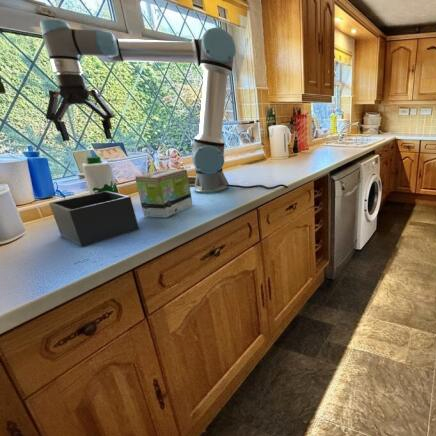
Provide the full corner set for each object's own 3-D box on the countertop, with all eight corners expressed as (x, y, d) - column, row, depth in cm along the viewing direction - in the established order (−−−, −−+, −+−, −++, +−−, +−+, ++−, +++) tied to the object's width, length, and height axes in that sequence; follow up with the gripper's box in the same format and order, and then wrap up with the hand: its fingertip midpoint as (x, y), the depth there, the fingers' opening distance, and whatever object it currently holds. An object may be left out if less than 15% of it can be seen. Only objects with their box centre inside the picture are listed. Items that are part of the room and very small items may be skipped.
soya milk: (120, 204, 124) (106, 155, 117) (124, 209, 118) (109, 157, 111) (94, 209, 119) (78, 158, 112) (96, 214, 112) (79, 160, 106)
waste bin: (116, 220, 105) (107, 190, 102) (139, 228, 97) (130, 196, 93) (61, 236, 93) (48, 203, 89) (81, 247, 85) (69, 210, 81)
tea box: (168, 218, 106) (158, 176, 101) (143, 217, 108) (133, 176, 103) (194, 205, 120) (186, 168, 114) (171, 204, 122) (163, 168, 116)
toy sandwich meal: (210, 184, 152) (209, 175, 151) (181, 187, 148) (179, 178, 146) (209, 179, 163) (208, 171, 162) (182, 182, 159) (181, 173, 157)
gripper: (17, 73, 95) (41, 142, 102) (105, 73, 100) (122, 138, 107) (33, 76, 102) (54, 140, 109) (115, 75, 107) (130, 137, 114)
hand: (88, 139), depth 108 cm, fingers open, 13 cm apart
